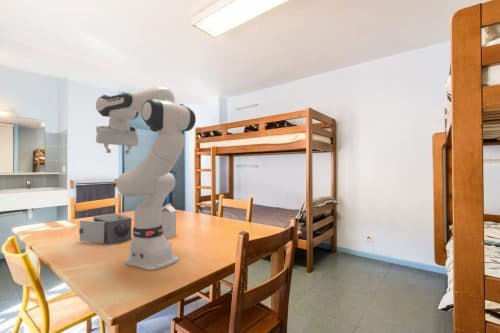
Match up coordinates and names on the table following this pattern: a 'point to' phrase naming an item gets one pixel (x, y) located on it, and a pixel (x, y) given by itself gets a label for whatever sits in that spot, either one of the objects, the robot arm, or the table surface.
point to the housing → (116, 227)
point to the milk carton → (168, 221)
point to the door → (92, 231)
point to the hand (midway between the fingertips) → (118, 153)
